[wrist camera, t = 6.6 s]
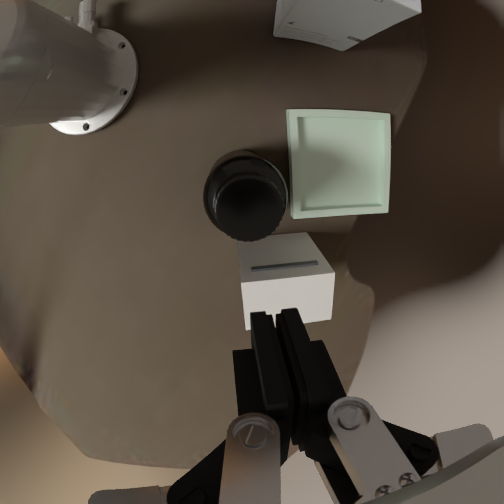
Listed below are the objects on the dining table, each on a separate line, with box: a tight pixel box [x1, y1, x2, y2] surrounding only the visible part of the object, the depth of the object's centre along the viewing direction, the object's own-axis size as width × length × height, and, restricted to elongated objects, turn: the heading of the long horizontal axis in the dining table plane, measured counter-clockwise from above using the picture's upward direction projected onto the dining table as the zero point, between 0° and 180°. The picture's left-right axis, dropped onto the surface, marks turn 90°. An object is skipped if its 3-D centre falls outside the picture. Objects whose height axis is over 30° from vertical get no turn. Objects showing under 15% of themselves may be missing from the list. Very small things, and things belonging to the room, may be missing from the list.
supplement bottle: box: [203, 150, 288, 242], centre depth 25 cm, size 7×7×12 cm
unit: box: [237, 232, 335, 330], centre depth 30 cm, size 6×8×10 cm
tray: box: [286, 109, 391, 219], centre depth 30 cm, size 12×12×2 cm
